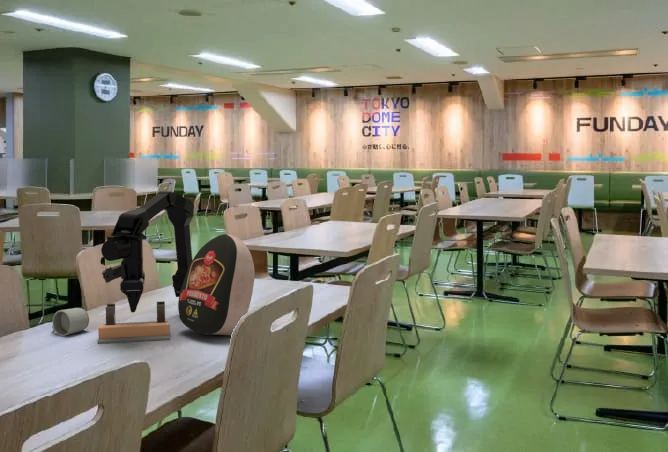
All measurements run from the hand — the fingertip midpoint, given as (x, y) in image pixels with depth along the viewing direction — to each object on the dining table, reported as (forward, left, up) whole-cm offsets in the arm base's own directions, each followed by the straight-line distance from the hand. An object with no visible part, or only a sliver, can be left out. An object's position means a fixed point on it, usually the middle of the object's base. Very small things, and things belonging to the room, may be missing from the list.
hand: (133, 308), depth 202 cm
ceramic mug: (+20, -10, -9) cm, 24 cm away
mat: (0, 0, -9) cm, 9 cm away
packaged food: (-24, 0, -9) cm, 26 cm away
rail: (0, 0, -8) cm, 8 cm away
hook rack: (0, -11, -9) cm, 14 cm away
